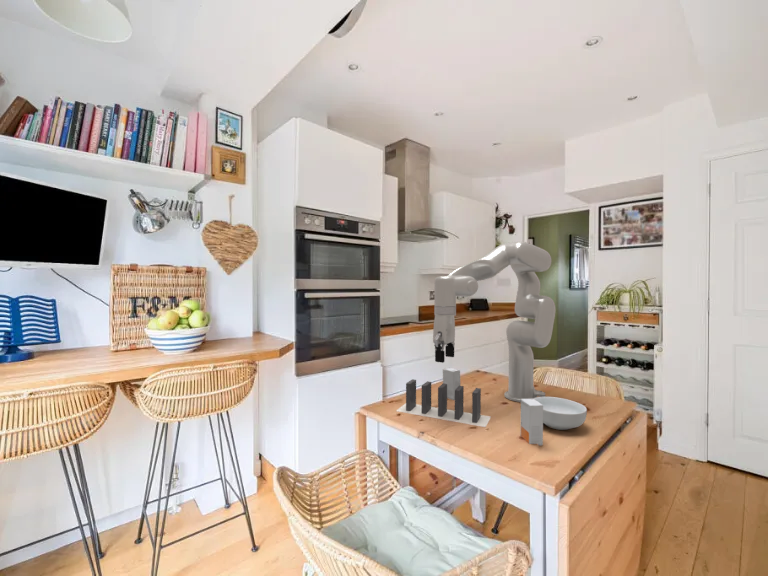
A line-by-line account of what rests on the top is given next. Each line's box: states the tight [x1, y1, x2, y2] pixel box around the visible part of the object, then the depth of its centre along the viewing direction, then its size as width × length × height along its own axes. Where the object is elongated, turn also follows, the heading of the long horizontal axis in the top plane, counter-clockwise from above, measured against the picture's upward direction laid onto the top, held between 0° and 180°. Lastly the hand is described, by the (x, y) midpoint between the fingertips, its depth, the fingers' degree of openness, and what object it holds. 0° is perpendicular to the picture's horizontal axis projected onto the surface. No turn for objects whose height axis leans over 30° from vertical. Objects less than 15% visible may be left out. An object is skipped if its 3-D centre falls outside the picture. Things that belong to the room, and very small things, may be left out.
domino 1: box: [405, 379, 417, 411], centre depth 133 cm, size 2×6×10 cm, turn 154°
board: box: [395, 402, 492, 428], centre depth 128 cm, size 32×10×1 cm, turn 64°
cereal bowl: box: [534, 396, 588, 431], centre depth 120 cm, size 17×17×7 cm
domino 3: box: [437, 382, 448, 417], centre depth 128 cm, size 2×6×10 cm, turn 154°
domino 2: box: [421, 380, 432, 414], centre depth 131 cm, size 2×6×10 cm, turn 154°
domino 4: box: [454, 385, 465, 420], centre depth 125 cm, size 2×6×10 cm, turn 154°
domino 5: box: [471, 387, 482, 423], centre depth 123 cm, size 2×6×10 cm, turn 154°
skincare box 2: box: [520, 399, 544, 446], centre depth 108 cm, size 6×4×12 cm
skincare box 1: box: [442, 367, 461, 401], centre depth 146 cm, size 6×4×12 cm
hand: (444, 359), depth 128 cm, fingers open, 9 cm apart
